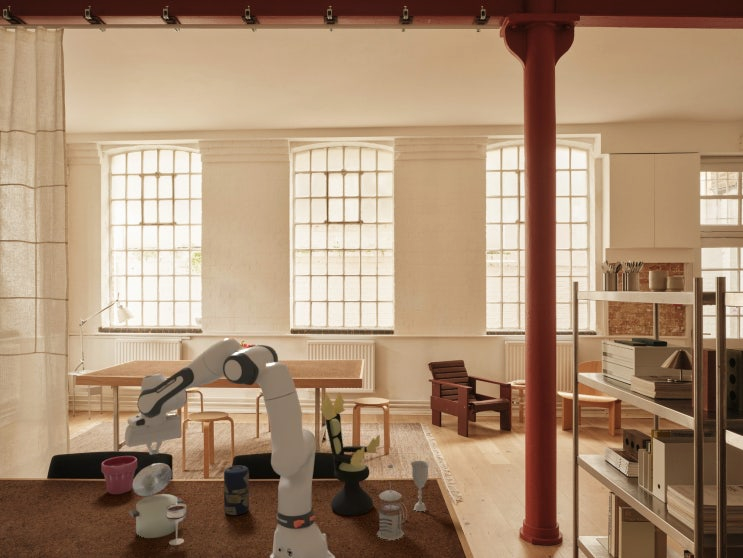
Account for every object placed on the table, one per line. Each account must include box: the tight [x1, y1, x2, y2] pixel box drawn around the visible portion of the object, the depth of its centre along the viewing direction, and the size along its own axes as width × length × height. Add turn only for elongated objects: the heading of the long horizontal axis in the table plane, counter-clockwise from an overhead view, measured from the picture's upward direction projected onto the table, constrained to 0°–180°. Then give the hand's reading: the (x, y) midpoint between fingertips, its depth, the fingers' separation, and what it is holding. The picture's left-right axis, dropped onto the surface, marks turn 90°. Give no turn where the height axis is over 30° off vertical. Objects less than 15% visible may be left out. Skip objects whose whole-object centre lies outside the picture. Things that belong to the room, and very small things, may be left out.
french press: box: [376, 463, 408, 541], centre depth 200 cm, size 10×12×25 cm
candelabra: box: [320, 392, 381, 516], centre depth 224 cm, size 19×22×45 cm
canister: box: [223, 464, 250, 516], centre depth 220 cm, size 10×10×18 cm
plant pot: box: [101, 455, 138, 495], centre depth 242 cm, size 14×14×13 cm
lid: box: [132, 462, 173, 497], centre depth 209 cm, size 14×14×2 cm
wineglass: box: [166, 502, 188, 546], centre depth 196 cm, size 7×7×12 cm
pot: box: [129, 493, 184, 539], centre depth 205 cm, size 14×18×10 cm
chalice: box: [410, 460, 430, 512], centre depth 222 cm, size 7×7×18 cm
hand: (153, 453), depth 212 cm, fingers closed
